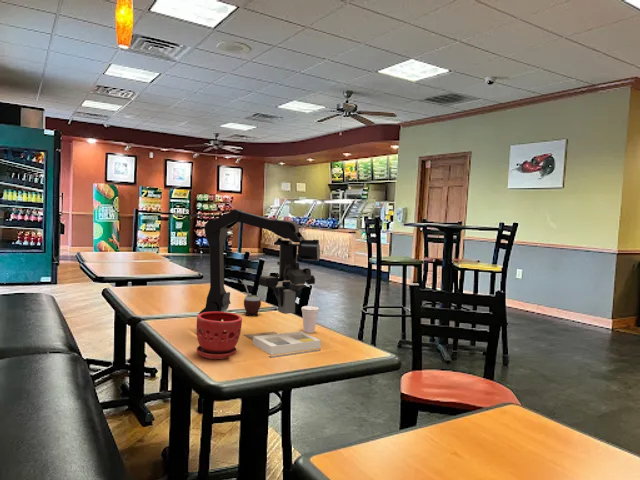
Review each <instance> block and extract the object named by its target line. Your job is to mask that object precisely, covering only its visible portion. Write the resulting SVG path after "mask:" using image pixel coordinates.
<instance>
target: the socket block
mask: <svg viewBox="0 0 640 480" xmlns="http://www.w3.org/2000/svg"><path fill="white" fill-rule="evenodd" d="M252 345H253V346H254V347H256V348H258V349H260V350H262V351H263V352H265V353H267V354H269V355H270V356H268V358H270V359H274V358H280V357H288V356H295V355H303V354H308V353H309V354H310V353H315V352H321V348H322V347H321V345H322V340H321V339H319V338H317V337H314V336H313V335H311V334H309V333H306V332H304V331H302V330H301V331H293V332H285V333H284V332H282V333H278V334H272V335H263V336H254V337H253V340H252Z"/></svg>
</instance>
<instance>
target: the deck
mask: <svg viewBox="0 0 640 480" xmlns="http://www.w3.org/2000/svg"><path fill="white" fill-rule="evenodd" d="M272 334H279V333H278V332H276V331H268V332H257V333H249V334H248V333H247V334H243V336H244V337H246V338H247V339H250V341H253V337H254V336H263V335H272Z"/></svg>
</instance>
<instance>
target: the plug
mask: <svg viewBox="0 0 640 480" xmlns="http://www.w3.org/2000/svg"><path fill="white" fill-rule="evenodd" d="M295 293H296V292H295V291H292V290H290V289H284V291H283V306H282V307H280V305H279V303H278V309H277V310H278V313H281V314H285V315H288V314H295V313H296V301H295Z"/></svg>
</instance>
